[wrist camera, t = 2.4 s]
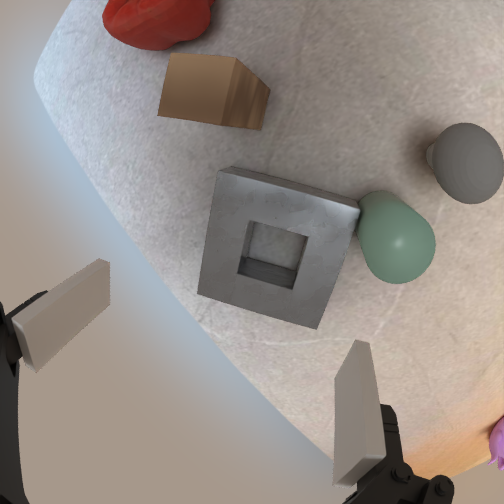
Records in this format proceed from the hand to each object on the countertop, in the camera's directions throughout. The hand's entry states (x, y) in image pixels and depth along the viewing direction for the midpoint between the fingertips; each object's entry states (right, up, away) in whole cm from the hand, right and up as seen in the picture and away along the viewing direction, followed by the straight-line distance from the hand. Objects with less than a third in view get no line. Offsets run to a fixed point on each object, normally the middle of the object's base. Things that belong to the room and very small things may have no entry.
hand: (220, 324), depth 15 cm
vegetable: (-6, +28, +9) cm, 30 cm away
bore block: (+4, +5, +15) cm, 16 cm away
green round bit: (+14, +7, +12) cm, 20 cm away
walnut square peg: (+1, +17, +11) cm, 20 cm away
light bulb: (+19, +13, +9) cm, 24 cm away
